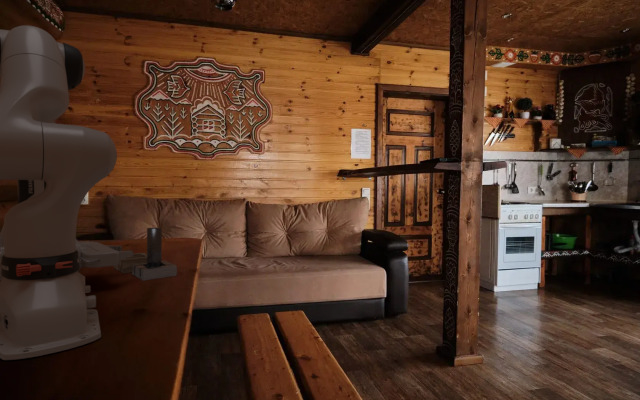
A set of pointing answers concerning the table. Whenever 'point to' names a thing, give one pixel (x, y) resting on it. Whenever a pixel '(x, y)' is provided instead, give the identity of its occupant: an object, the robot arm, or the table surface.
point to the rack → (130, 262)
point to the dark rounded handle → (154, 247)
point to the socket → (154, 271)
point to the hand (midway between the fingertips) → (126, 250)
